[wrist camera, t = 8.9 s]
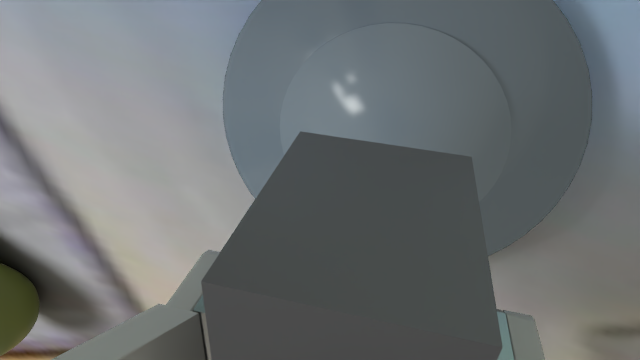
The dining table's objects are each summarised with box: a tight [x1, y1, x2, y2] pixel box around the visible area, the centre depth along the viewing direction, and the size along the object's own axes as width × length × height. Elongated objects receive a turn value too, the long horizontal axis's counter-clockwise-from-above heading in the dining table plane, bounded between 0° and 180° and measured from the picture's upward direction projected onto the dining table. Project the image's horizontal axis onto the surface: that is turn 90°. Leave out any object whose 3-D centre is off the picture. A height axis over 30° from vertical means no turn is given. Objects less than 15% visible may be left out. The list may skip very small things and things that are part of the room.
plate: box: [223, 0, 592, 256], centre depth 15 cm, size 12×12×1 cm
